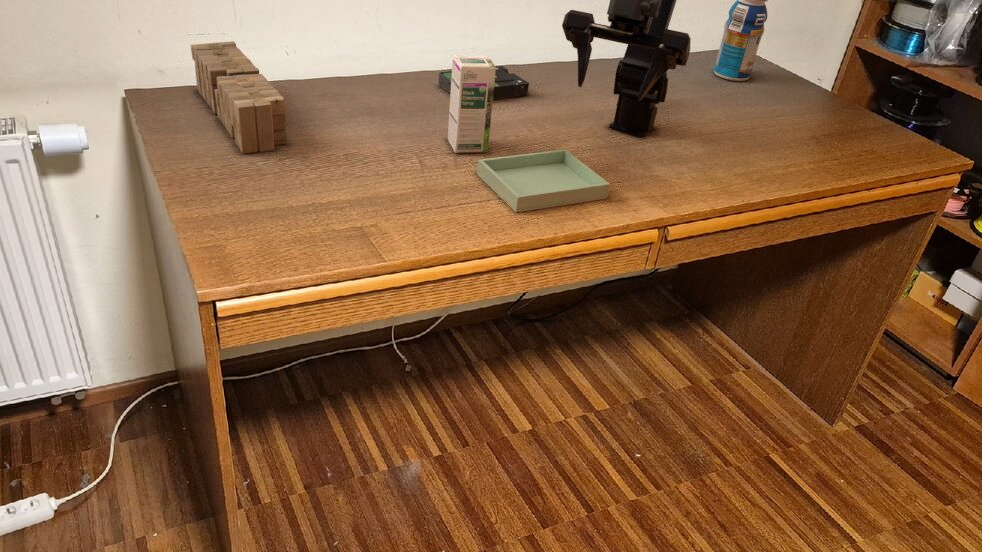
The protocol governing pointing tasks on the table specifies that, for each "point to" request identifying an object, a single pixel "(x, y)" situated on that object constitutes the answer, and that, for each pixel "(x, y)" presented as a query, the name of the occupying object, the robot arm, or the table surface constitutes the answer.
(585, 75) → the robot arm
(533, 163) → the tray
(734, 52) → the beverage bottle
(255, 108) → the block tower
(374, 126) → the table surface
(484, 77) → the syrup box
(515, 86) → the disk drive
